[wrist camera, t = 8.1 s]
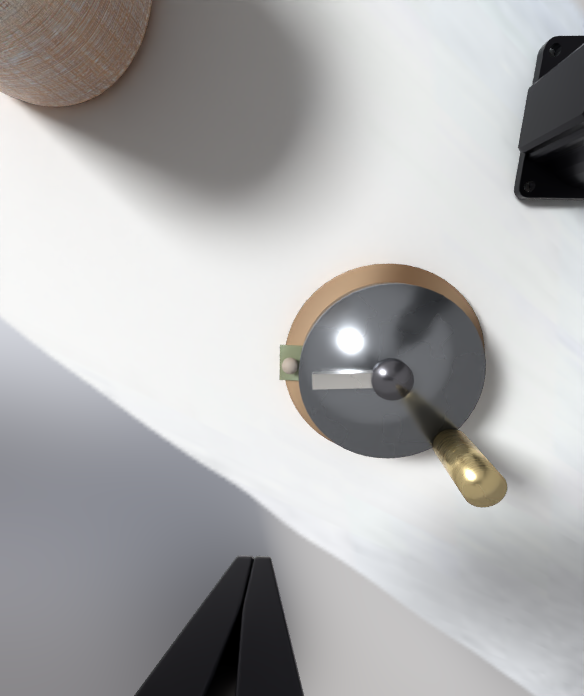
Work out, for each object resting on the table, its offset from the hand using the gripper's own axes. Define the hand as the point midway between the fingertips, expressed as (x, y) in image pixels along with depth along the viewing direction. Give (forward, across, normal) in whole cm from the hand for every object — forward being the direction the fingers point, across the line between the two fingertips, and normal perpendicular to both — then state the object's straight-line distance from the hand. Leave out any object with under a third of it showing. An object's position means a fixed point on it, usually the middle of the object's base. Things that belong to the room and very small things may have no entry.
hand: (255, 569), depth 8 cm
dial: (+11, -5, -2) cm, 12 cm away
